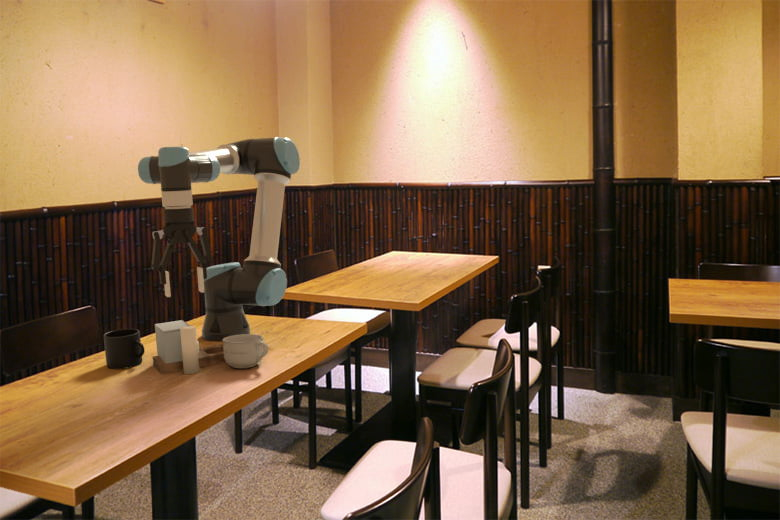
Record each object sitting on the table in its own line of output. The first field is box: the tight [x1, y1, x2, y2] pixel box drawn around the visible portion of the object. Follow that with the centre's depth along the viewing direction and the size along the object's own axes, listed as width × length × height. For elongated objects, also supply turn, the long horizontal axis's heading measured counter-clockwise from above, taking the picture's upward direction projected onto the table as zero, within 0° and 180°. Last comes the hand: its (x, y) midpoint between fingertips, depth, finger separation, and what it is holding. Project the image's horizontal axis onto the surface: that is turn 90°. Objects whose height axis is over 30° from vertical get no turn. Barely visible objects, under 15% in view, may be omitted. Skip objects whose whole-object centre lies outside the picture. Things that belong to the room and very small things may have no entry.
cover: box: [154, 319, 191, 364], centre depth 184 cm, size 8×10×9 cm
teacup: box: [222, 333, 269, 369], centre depth 182 cm, size 14×11×8 cm
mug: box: [103, 328, 145, 370], centre depth 188 cm, size 9×12×9 cm
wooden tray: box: [152, 340, 227, 375], centre depth 187 cm, size 20×10×6 cm, turn 121°
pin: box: [180, 325, 200, 375], centre depth 179 cm, size 4×4×12 cm
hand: (185, 293), depth 177 cm, fingers open, 8 cm apart
